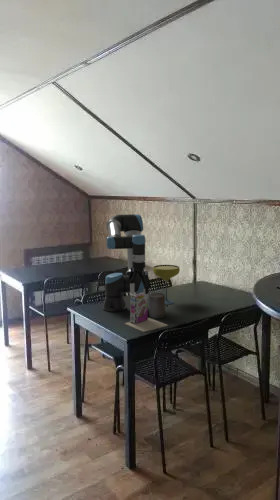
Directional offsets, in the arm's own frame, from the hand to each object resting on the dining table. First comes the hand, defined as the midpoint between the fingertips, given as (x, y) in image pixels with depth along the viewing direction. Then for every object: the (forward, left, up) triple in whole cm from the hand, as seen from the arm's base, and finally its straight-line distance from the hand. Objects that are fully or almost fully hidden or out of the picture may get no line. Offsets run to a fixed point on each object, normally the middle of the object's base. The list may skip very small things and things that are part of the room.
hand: (138, 296), depth 264 cm
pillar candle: (-3, +16, -16) cm, 23 cm away
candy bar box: (0, 0, -15) cm, 15 cm away
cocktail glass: (-24, +41, -16) cm, 50 cm away
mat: (+7, 0, -16) cm, 17 cm away
